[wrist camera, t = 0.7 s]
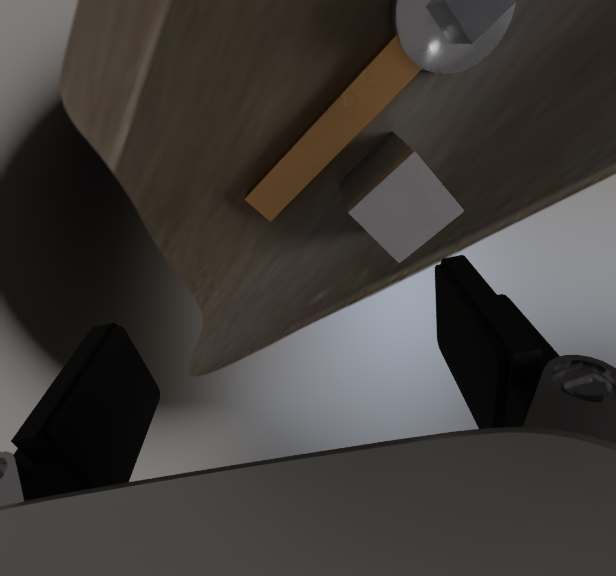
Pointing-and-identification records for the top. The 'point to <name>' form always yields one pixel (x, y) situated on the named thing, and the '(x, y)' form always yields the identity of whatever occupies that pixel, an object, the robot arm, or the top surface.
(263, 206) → the hammer
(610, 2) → the top surface
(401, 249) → the white block
